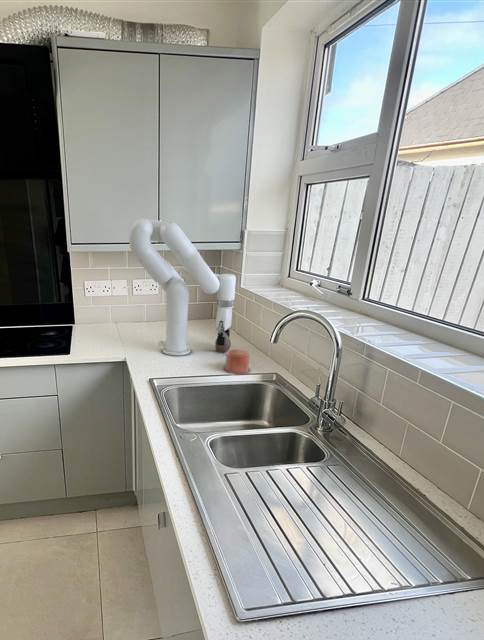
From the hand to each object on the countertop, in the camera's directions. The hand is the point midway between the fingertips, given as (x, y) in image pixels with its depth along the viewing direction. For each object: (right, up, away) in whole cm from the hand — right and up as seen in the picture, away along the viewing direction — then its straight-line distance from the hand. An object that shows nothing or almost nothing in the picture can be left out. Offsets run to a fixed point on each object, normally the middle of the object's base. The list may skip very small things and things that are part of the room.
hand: (223, 342), depth 183 cm
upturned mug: (+3, -12, -19) cm, 23 cm away
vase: (0, -4, +2) cm, 4 cm away
